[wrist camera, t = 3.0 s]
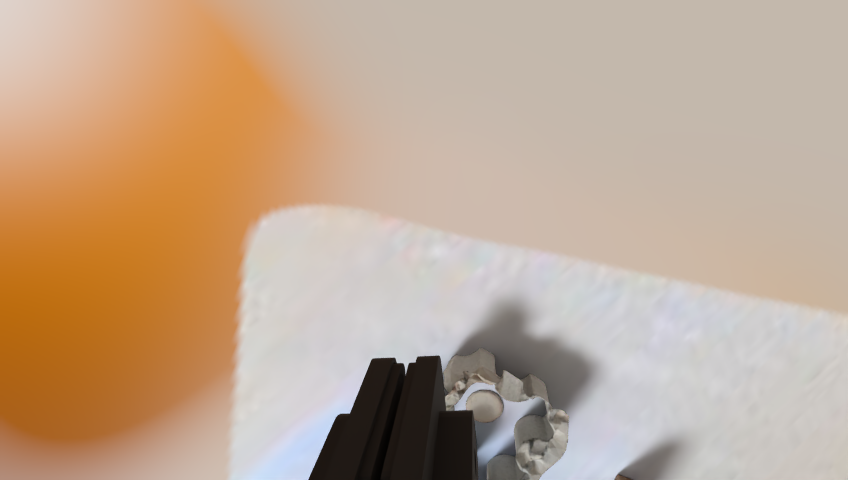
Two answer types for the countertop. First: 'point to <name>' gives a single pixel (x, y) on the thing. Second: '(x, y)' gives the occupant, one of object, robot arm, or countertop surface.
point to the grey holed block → (533, 434)
